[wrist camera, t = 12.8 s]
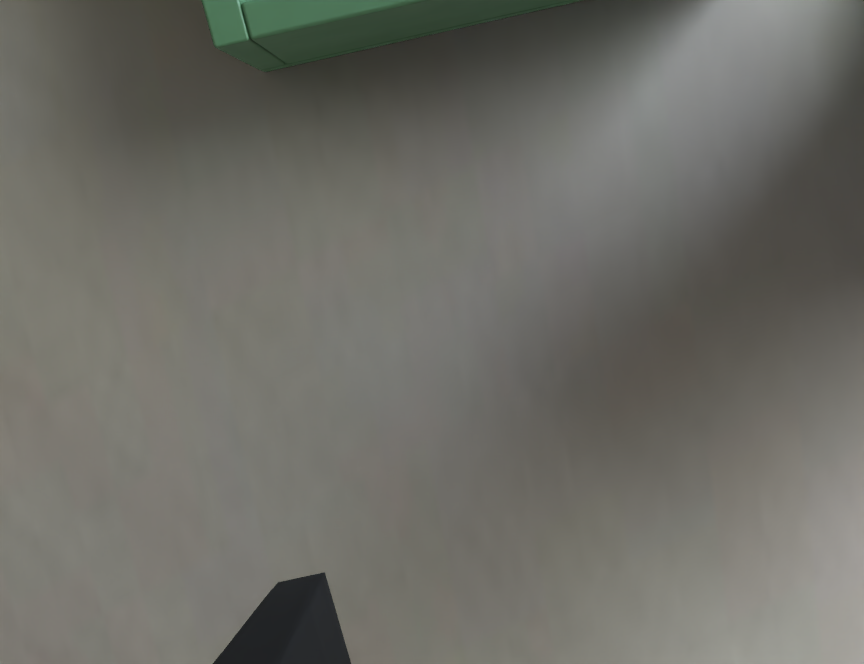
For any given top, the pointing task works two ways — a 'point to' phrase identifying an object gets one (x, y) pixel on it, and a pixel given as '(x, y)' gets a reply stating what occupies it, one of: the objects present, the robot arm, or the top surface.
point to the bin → (341, 25)
